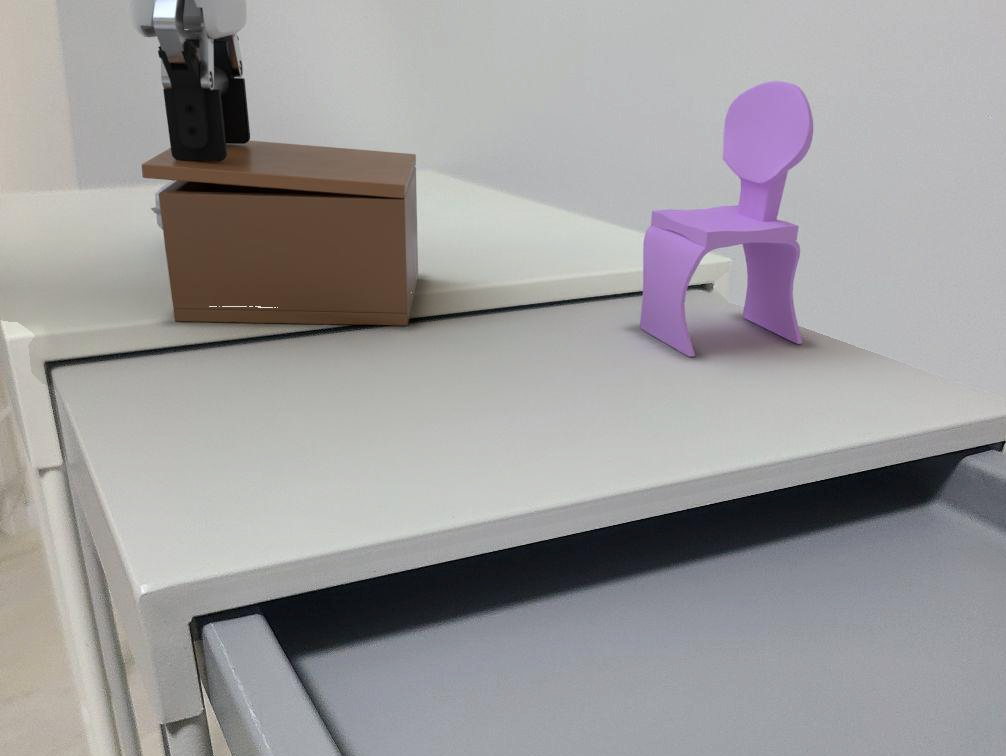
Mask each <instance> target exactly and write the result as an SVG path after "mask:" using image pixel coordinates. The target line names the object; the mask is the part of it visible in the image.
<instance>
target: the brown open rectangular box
mask: <svg viewBox="0 0 1006 756" xmlns="http://www.w3.org/2000/svg"><path fill="white" fill-rule="evenodd" d="M158 195H159V203H160V211H161V218H162V226H163V230H162V233H163V241H164V248H165V249H164V250H165V255H166V256H165V257H166V265H167V271H168V278H169V279H168V280H169V287H170V294H171V295H170V296H171V303H172V308H173V310H172V312H173V318H174V321H175V322H195V323H196V322H198V323H199V322H203V323H249V324H250V323H251V324H253V323H254V324H296V325H297V324H300V325H302V324H303V325H352V326H398V327H399V326H401V327H402V326H403V327H405V326H406V327H407V326H409V321H410V317H411V313H412V312H411V311H412V307H413V302H414V297H415V294H416V288H417V284H418V279H419V267H418V266H419V254H418V253H419V252H418V251H419V250H418V249H419V248H418V203H417V202H418V200H417V199H418V198H417V167H416V166H415V168H414V171H413V174H412V177H411V180H410V183H409V185H408V188H407V191H406V194H405V197H404V198H392V197H379V196H367V195H354V194H341V193H329V192H316V191H303V190H291V189H278V188H265V187H253V186H240V185H227V184H215V183H202V182H189V181H175V182H174V183H173V184H171V185H170V186H168V187H167V188H165V189H164V190H162V191H161V192H160V193H159V194H158ZM411 292H412V293H411ZM209 306H217V307H209ZM219 306H220V307H219ZM222 306H247V307H222ZM249 306H253V307H249ZM255 306H261V307H273V308H258V307H255ZM274 307H276V308H274ZM277 307H278V308H277Z"/></svg>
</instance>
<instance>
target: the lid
mask: <svg viewBox="0 0 1006 756" xmlns="http://www.w3.org/2000/svg"><path fill="white" fill-rule="evenodd" d="M228 87H229V80H228V77H227V75H226V73H225V72H224V71H223V70H222V69H220V68H218V67H214V89H220V92H221V96H222V95H223V94H225V93H226V91H227V90H228ZM226 148H227V156H226V158H225V159H224V160H222V161H179V160H176V159H174V158H173V156H172V153H171V147H170V148H167V149H166V150H164V151H162V152H161V153H158V154H157V155H155V156H154V157H152V158H150V159H148V160H147V161H145V162H143V163H141V174H142V178H144V179H153V180H164V181H165V180H166V181H172V180H177V181H189V182H202V183H215V184H227V185H240V186H253V187H265V188H278V189H291V190H303V191H316V192H329V193H341V194H354V195H367V196H379V197H392V198H404V197H405V194H406V191H407V188H408V185H409V183H410V180H411V177H412V174H413V171H414V168H415V167H416V165H417V155H416V153H407V152H394V151H381V150H370V149H369V150H368V149H358V148H345V147H334V146H322V145H321V146H320V145H311V144H310V145H309V144H298V143H297V144H296V143H285V142H274V141H273V142H272V141H260V140H249V141H248V142H247V143H245V144H228V143H226Z"/></svg>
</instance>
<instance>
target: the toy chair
mask: <svg viewBox="0 0 1006 756" xmlns="http://www.w3.org/2000/svg"><path fill="white" fill-rule="evenodd" d="M813 118H814V117H813V112H812V109H811V106H810V102H809V100H808V97H807V96H806V94H805V91H804V90H803V89H801V87H800V86H798V85H797V84H794V83H791V82H787V81H781V80H773V81H772V80H771V81H766V82H763V83H760V84H757V85H755V86H752V87H750V88H748V89H747V90H745V91H744V92H742V93H740V94H739V95H738V96H737V97H736V98H734V100H733V101H732V102H731V104H730V105H729V107H728V109H727V111H726V115H725V119H724V126H723V127H724V128H723V138H722V139H723V142H722V144H723V145H722V148H723V149H722V160H723V161H724V163H725V164H726V165H727V166H728V167H729V169H730V170H731V171H732V172H733V173H734V174H735V175H736V176H737V177H738V178H739V180H740V193H739V198H738V199H739V200H738V204H737V205H722V206H715V207H708V208H701V209H700V208H699V209H669V208H668V209H655V210H654V209H653V210H651V220H650V225H649V226H648V228H647V229H646V231H645V233H644V235H643V245H642V247H643V248H642V265H643V266H642V297H641V298H642V299H641V310H640V320H639V328H640V329H641V330H642V331H644V332H645V333H647V334H649V335H651V336H653V337H654V338H656V339H658V340H660V341H661V342H663V343H664V344H666V345H668V346H670V347H672V348H673V349H675V350H676V351H678V352H680V353H681V354H683V355H685V356H687V357H689V358H692V357H695V355H696V354H695V351H694V347H693V343H692V340H691V336H690V332H689V329H688V324H687V317H686V309H685V308H686V306H685V303H686V296H687V291H688V288H689V285H690V282H691V280H692V278H693V276H694V275H695V272H696V271H697V269H698V267H699V265H700V263H701V261H703V258H704V257H705V256H706V255H707V254H708V253H710V252H712V251H715V250H717V249H721V248H729V247H734V246H739V245H742V248H743V253H744V257H745V263H746V275H747V279H746V280H747V281H746V282H747V283H746V293H745V299H744V305H743V310H742V318H744V319H745V320H748V321H749V322H751V323H753V324H755V325H757V326H759V327H761V328H763V329H766V330H767V331H769V332H772V333H774V334H776V335H778V336H779V337H782V338H784V339H786V340H788V341H790V342H792V343H794V344H797V345H801V344H803V339H802V335H801V330H800V328H799V324H798V319H797V316H796V310H795V304H794V281H795V276H796V271H797V268H798V264H799V261H800V256H801V246H800V244H799V242H798V233H799V227H800V226H799V225H798V224H795V223H791V222H788V221H785V220H781V219H778V215H779V211H780V207H781V202H782V198H783V194H784V190H785V186H786V183H787V182H786V181H787V177H788V173H789V171H790V170H792V169H793V168H794V167H796V166H797V165H798V164H799V163H800V162H801V161H802V160H803V159H804V158H805V157H806V156H807V154H808V152H809V150H810V149H811V145H812V142H813V136H814V119H813Z"/></svg>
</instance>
